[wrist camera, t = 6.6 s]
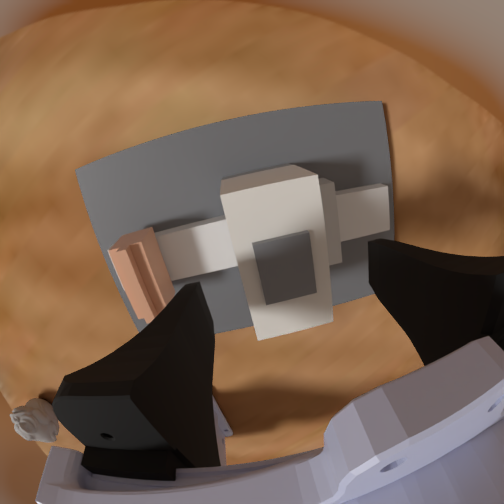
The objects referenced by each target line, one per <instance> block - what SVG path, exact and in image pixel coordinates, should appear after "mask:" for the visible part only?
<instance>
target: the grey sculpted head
mask: <svg viewBox="0 0 504 504" xmlns="http://www.w3.org/2000/svg"><path fill="white" fill-rule="evenodd" d="M12 412H13V414H10V416H11V420H12V422H13V423H15V425H14V427H15V431H16V432H17V433H18V434H20V435H21V436H22V437H23V438H24V439H26V440H28V441H32V440H35V441H42V442H54V441H56V440H57V439H56V436H55V435H58V432H59V424H58V419H57V417H56V415H55V413H54V411H53V408H52V405H51V404H50V403H48V402H47V401H45V400H43V399H39V398H34V399H31V400H29V401H28V402H27V403H26V405H25V406H19V407H17V408H14V409H13V411H12Z"/></svg>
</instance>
